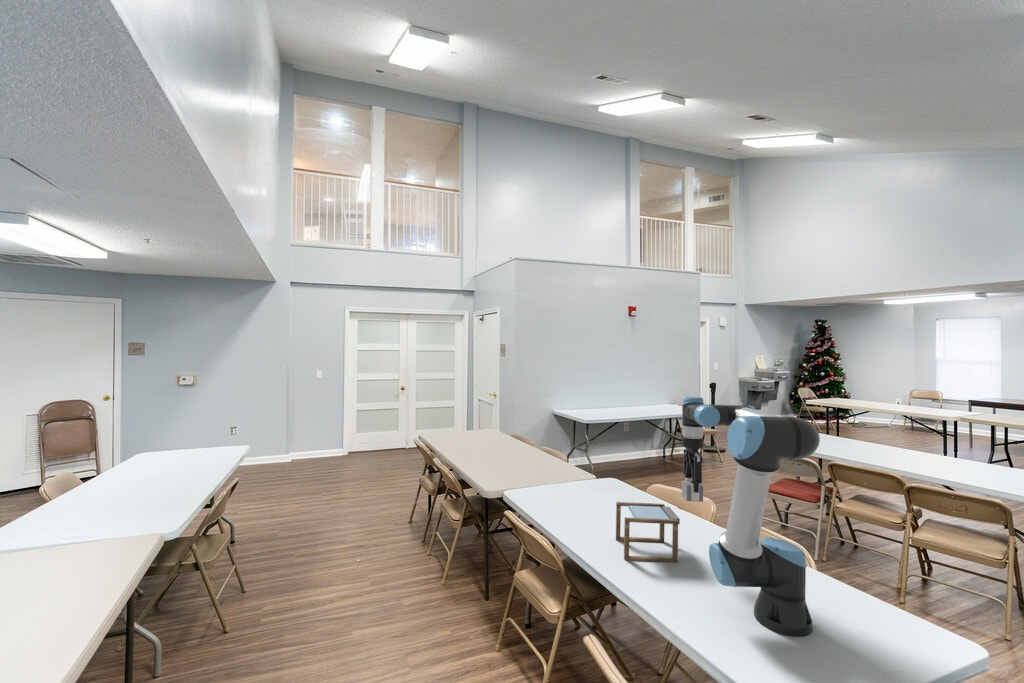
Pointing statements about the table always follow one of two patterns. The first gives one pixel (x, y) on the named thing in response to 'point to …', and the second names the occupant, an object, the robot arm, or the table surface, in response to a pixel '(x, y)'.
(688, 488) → the gray cube
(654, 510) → the plate
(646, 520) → the frame
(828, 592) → the table surface
